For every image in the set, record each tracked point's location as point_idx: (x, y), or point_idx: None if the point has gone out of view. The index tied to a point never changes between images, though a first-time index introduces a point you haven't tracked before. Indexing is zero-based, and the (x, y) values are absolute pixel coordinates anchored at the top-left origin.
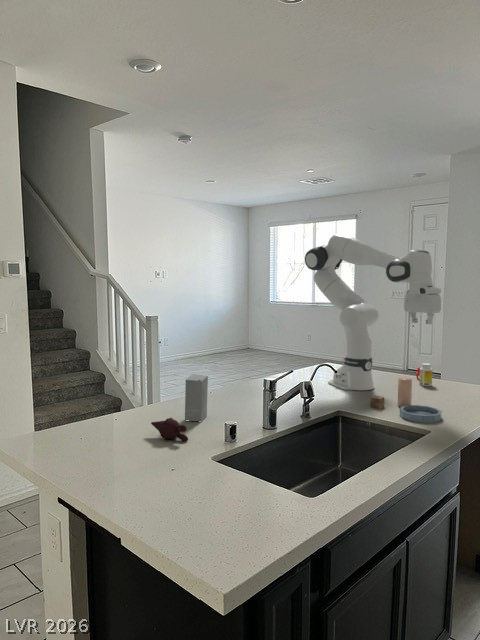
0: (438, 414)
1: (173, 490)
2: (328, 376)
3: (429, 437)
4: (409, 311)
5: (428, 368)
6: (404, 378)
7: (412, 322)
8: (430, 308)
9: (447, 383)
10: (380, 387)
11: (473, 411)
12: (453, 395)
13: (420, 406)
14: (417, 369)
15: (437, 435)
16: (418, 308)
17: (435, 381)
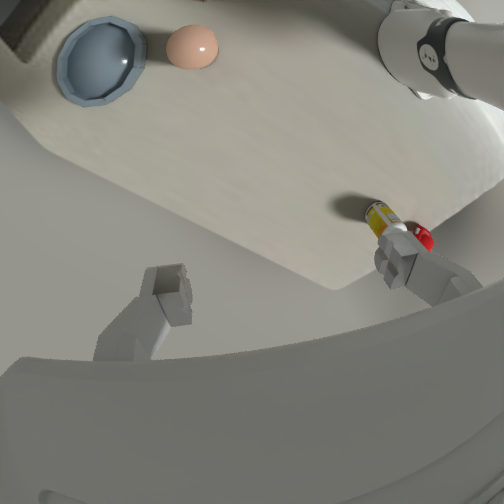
0: (63, 93)
1: None
2: None
3: (4, 57)
4: (487, 286)
5: None
6: (200, 47)
7: (406, 231)
8: (14, 402)
9: (367, 258)
10: (397, 98)
11: (139, 193)
12: (277, 220)
13: (130, 71)
14: (430, 238)
15: (10, 71)
16: (323, 395)
17: None
